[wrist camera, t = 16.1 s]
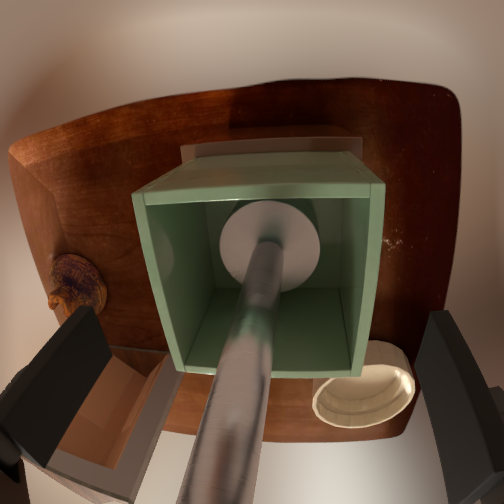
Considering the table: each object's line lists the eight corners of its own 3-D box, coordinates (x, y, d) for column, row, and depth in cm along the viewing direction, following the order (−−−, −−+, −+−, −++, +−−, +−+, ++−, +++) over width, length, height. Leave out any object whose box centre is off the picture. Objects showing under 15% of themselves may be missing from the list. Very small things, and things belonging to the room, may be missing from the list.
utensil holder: (334, 124, 33) (408, 160, 10) (335, 224, 38) (374, 386, 16) (227, 128, 35) (109, 175, 12) (237, 226, 40) (165, 379, 17)
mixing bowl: (416, 333, 43) (426, 360, 38) (395, 398, 50) (400, 423, 45) (314, 338, 46) (315, 366, 40) (310, 403, 53) (309, 429, 47)
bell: (118, 281, 46) (95, 308, 40) (96, 323, 51) (76, 349, 45) (64, 237, 44) (36, 257, 38) (48, 284, 49) (25, 305, 43)
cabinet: (187, 353, 51) (127, 502, 26) (199, 389, 55) (154, 523, 30) (89, 342, 54) (14, 451, 29) (106, 376, 58) (46, 481, 33)
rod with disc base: (317, 185, 20) (369, 541, 3) (317, 270, 22) (323, 573, 5) (224, 189, 20) (23, 469, 4) (233, 270, 23) (132, 546, 6)
